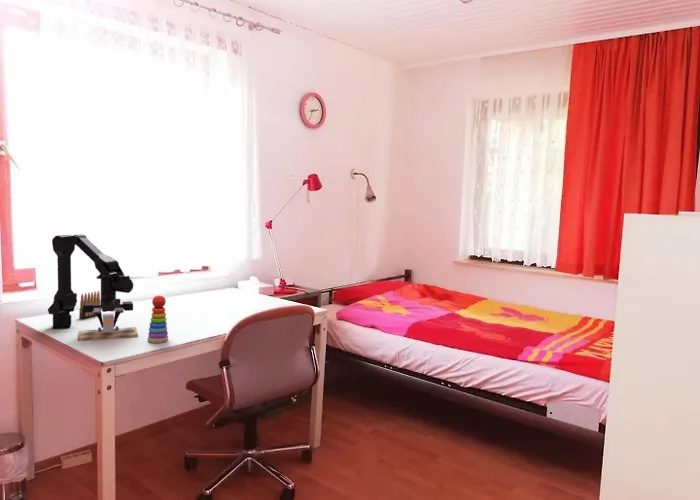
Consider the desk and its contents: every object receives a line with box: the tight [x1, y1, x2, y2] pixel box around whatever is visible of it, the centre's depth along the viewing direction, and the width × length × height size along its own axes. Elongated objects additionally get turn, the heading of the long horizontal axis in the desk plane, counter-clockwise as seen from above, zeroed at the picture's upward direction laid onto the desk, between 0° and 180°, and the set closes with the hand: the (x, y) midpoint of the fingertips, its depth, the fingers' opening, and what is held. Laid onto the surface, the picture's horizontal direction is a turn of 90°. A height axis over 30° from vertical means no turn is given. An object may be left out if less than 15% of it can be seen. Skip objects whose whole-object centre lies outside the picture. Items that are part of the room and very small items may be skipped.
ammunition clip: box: [78, 290, 101, 321], centre depth 240 cm, size 11×2×12 cm, turn 157°
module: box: [102, 312, 115, 333], centre depth 214 cm, size 4×7×6 cm, turn 26°
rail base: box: [77, 325, 139, 342], centre depth 214 cm, size 22×12×3 cm, turn 116°
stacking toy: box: [146, 295, 169, 344], centre depth 209 cm, size 8×8×19 cm
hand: (108, 327), depth 214 cm, fingers closed on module, 4 cm apart
